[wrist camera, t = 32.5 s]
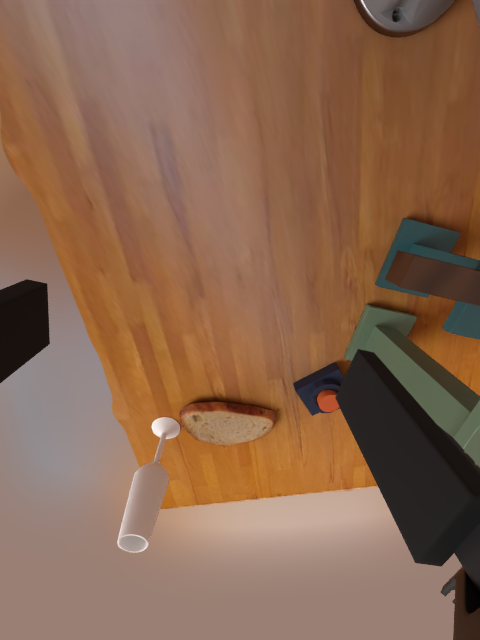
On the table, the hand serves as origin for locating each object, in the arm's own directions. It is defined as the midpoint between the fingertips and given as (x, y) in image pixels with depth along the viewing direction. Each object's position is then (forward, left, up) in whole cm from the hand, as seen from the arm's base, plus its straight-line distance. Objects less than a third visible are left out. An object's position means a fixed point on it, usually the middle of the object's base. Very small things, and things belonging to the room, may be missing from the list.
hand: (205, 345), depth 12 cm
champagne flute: (+36, +29, -40) cm, 61 cm away
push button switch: (0, +38, -40) cm, 55 cm away
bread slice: (+22, +34, -40) cm, 57 cm away
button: (0, +38, -36) cm, 52 cm away
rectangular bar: (-24, +20, -19) cm, 37 cm away
